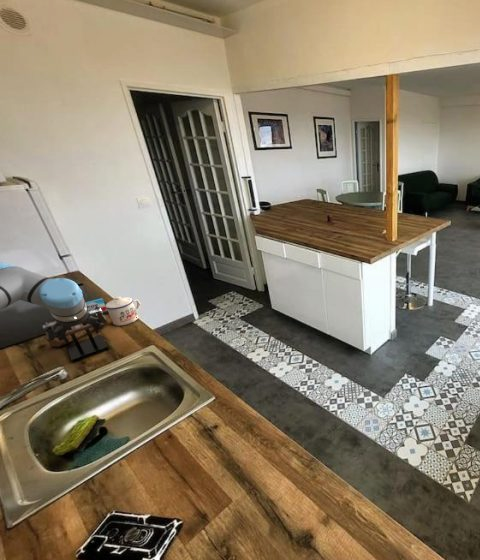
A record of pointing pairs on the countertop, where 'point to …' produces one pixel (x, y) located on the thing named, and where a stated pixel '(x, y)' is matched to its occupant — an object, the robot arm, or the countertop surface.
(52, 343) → the bread
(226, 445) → the countertop surface
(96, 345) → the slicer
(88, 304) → the blue printed flat box
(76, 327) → the slicer arm
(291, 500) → the countertop surface
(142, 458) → the countertop surface
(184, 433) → the countertop surface
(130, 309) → the teacup with lid
